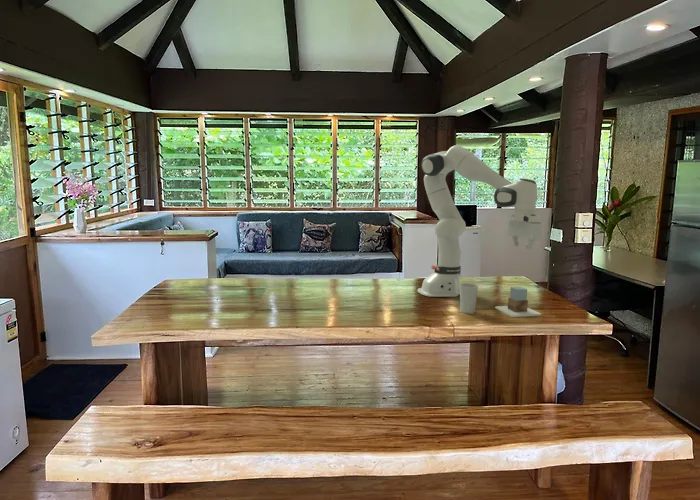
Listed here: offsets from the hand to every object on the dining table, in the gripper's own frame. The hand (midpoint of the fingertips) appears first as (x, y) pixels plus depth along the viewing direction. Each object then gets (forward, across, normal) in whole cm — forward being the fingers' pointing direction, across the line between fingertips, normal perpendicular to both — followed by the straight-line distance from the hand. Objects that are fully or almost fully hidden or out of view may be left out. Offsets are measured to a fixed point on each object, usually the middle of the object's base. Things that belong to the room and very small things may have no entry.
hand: (522, 247), depth 210 cm
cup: (+29, -5, -22) cm, 37 cm away
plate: (+29, 0, 0) cm, 29 cm away
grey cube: (+23, 0, 0) cm, 23 cm away
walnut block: (+28, 0, 0) cm, 28 cm away
